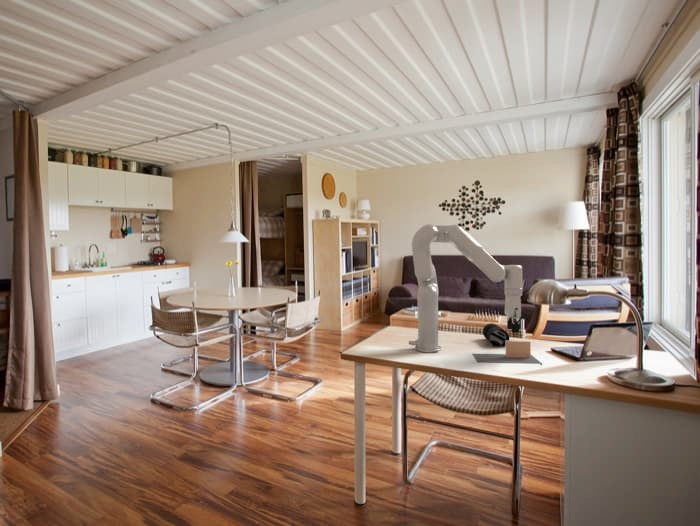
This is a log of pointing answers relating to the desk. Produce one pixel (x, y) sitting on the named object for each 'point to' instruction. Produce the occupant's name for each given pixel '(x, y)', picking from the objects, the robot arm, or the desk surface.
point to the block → (517, 348)
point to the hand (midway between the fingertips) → (513, 330)
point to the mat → (504, 359)
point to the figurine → (495, 334)
